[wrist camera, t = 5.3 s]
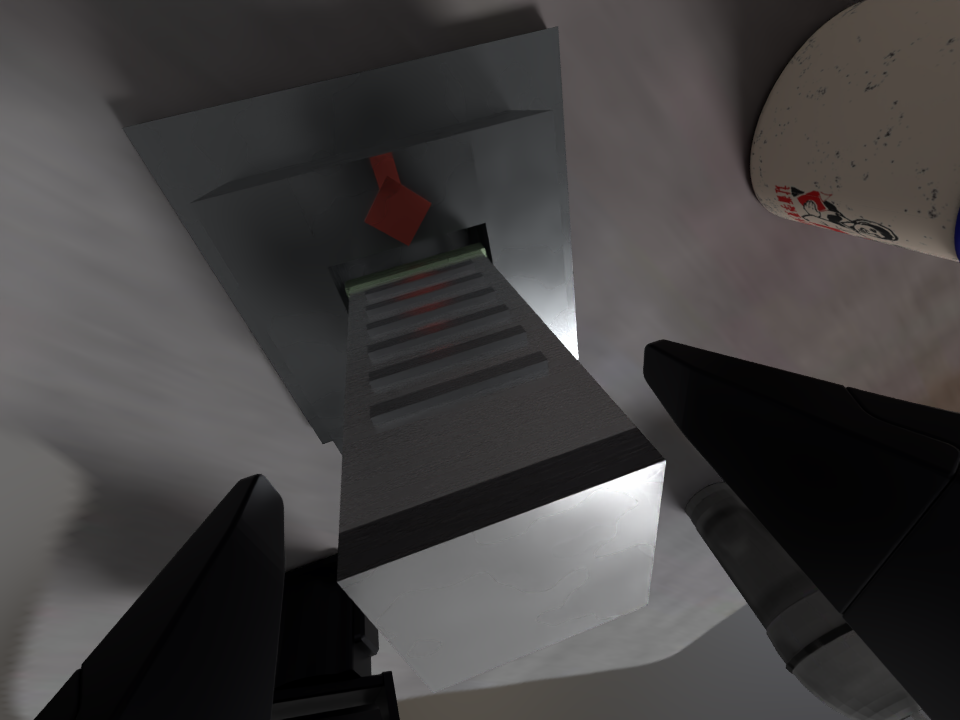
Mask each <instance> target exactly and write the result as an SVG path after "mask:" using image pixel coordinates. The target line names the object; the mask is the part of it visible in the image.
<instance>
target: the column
mask: <svg viewBox="0 0 960 720" xmlns="http://www.w3.org/2000/svg"><path fill="white" fill-rule="evenodd" d="M345 291H346V293H347V295H348V297H349V315H348V338H347V361H346V383H345V406H344V429H343V452H342V475H341V498H340V520H339V543H338V566H337V583H338V584H339V585H340V586H341V588H342V589H343V590H344V591H345V592H346V593H347V594H348V596H349V597H350V598H351V599H352V600H353V601H354V603H355V604H356V605H357V606H358V607H359V608H360V609H361V611H362V612H363V613H364V614H365V615H366V616H367V618H368V619H369V620H370V621H371V622H372V623H373V624H374V626H375V627H376V628H377V629H378V630H379V631H380V633H381V634H382V635H383V636H384V637H385V638H386V639H387V641H388V642H389V643H390V644H391V645H392V646H393V648H394V649H395V650H396V651H397V652H398V653H399V654H400V656H401V657H402V658H403V659H404V660H405V661H406V663H407V664H408V665H409V666H410V667H411V668H412V669H413V671H414V672H415V673H416V674H417V675H418V676H419V677H420V679H421V680H422V681H423V682H424V683H425V684H426V686H427V687H428V688H429V689H430V690H431V691H432V692H433V693H435V692H438V691H440V690H443V689H445V688H447V687H450V686H452V685H455V684H457V683H460V682H462V681H465V680H467V679H469V678H472V677H474V676H477V675H479V674H482V673H484V672H486V671H489V670H491V669H494V668H496V667H499V666H501V665H504V664H506V663H508V662H511V661H513V660H516V659H518V658H521V657H523V656H525V655H528V654H530V653H533V652H535V651H538V650H540V649H543V648H545V647H547V646H550V645H552V644H555V643H557V642H560V641H562V640H564V639H567V638H569V637H572V636H574V635H577V634H579V633H581V632H584V631H586V630H589V629H591V628H594V627H596V626H599V625H601V624H603V623H606V622H608V621H611V620H613V619H616V618H618V617H620V616H623V615H625V614H628V613H630V612H633V611H635V610H638V609H640V608H642V607H645V606H647V605H648V600H649V592H650V584H651V576H652V568H653V560H654V552H655V544H656V536H657V528H658V520H659V512H660V504H661V496H662V488H663V480H664V472H665V464H666V460H665V459H664V458H663V457H662V455H661V454H660V453H659V452H658V451H657V450H656V449H655V447H654V446H653V445H652V444H651V443H650V442H649V441H648V440H647V438H646V437H645V436H644V435H643V434H642V433H641V432H640V430H639V429H638V428H637V427H636V426H635V425H634V424H633V423H632V421H631V420H630V419H629V418H628V417H627V416H626V415H625V413H624V412H623V411H622V410H621V409H620V408H619V407H618V406H617V404H616V403H615V402H614V401H613V400H612V399H611V398H610V396H609V395H608V394H607V393H606V392H605V391H604V390H603V389H602V387H601V386H600V385H599V384H598V383H597V382H596V381H595V379H594V378H593V377H592V376H591V375H590V374H589V373H588V372H587V370H586V369H585V368H584V367H583V366H582V365H581V364H580V362H579V361H578V360H577V359H576V358H575V357H574V356H573V355H572V353H571V352H570V351H569V350H568V349H567V348H566V347H565V345H564V344H563V343H562V342H561V341H560V340H559V339H558V338H557V336H556V335H555V334H554V333H553V332H552V331H551V330H550V328H549V327H548V326H547V325H546V324H545V323H544V322H543V321H542V319H541V318H540V317H539V316H538V315H537V314H536V313H535V311H534V310H533V309H532V308H531V307H530V306H529V305H528V304H527V302H526V301H525V300H524V299H523V298H522V297H521V296H520V294H519V293H518V292H517V291H516V290H515V289H514V288H513V287H512V285H511V284H510V283H509V282H508V281H507V280H506V279H505V277H504V276H503V275H502V274H501V273H500V272H499V271H498V270H497V268H496V267H495V266H494V265H493V264H492V263H491V262H490V260H489V259H488V258H487V257H486V252H485V248H484V247H483V246H482V245H481V243H480V242H479V243H476V244H473V245H469V246H466V247H462V248H459V249H455V250H452V251H448V252H445V253H441V254H438V255H434V256H431V257H428V258H424V259H421V260H417V261H414V262H410V263H407V264H403V265H400V266H396V267H393V268H389V269H386V270H383V271H379V272H376V273H372V274H369V275H365V276H362V277H358V278H355V279H351V280H348V281H345Z"/></svg>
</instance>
